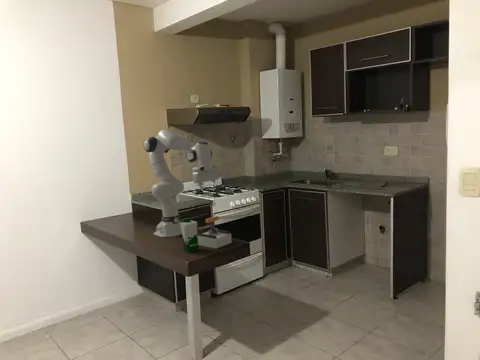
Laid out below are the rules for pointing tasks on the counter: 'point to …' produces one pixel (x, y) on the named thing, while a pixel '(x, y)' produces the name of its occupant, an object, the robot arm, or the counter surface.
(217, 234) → the box
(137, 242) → the counter surface
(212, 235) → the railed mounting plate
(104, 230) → the counter surface
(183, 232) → the milk carton
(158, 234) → the robot arm
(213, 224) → the lever
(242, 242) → the counter surface
